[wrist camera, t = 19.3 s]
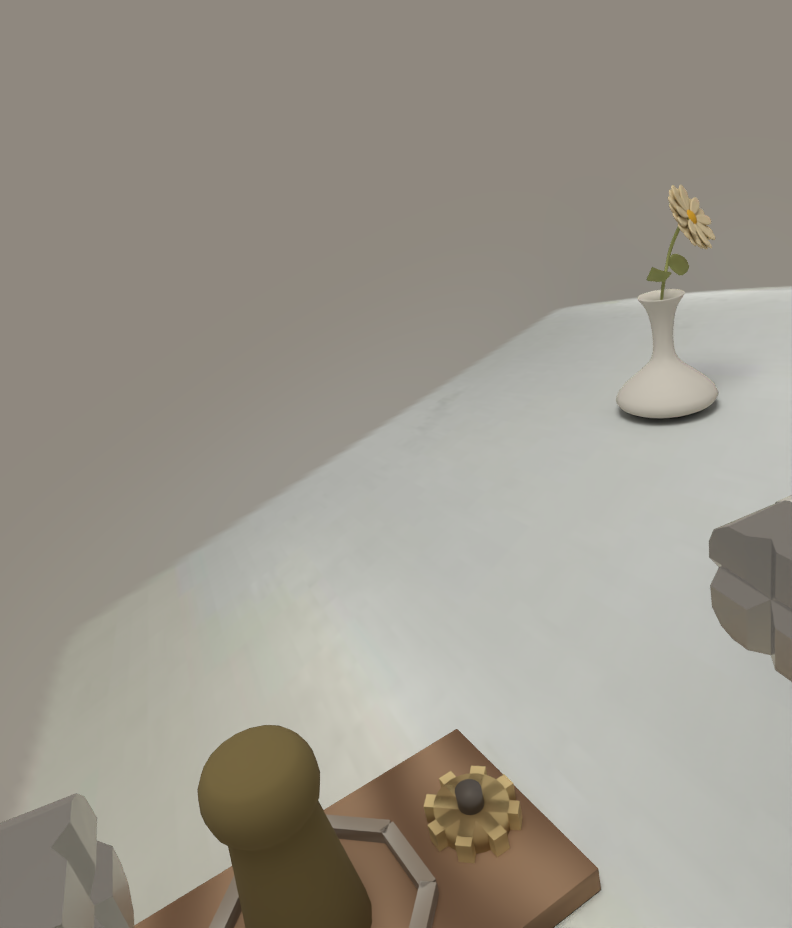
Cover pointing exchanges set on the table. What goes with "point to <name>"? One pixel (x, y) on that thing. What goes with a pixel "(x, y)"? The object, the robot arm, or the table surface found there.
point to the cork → (280, 833)
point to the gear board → (435, 852)
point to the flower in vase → (670, 332)
